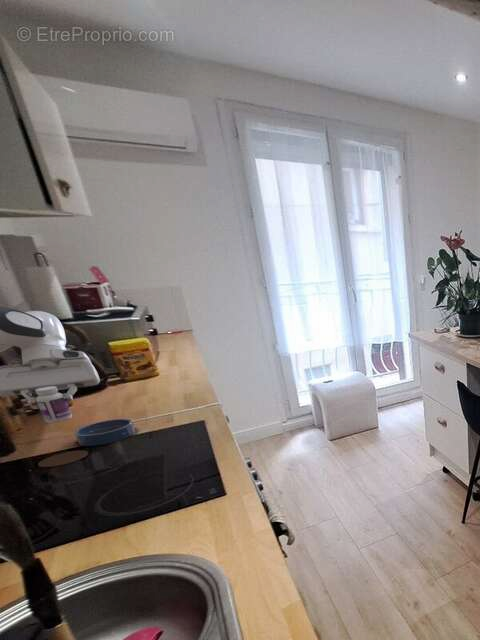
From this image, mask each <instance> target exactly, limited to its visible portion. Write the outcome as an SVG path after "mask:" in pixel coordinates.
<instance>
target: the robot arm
mask: <svg viewBox="0 0 480 640" xmlns="http://www.w3.org/2000/svg"><path fill="white" fill-rule="evenodd" d="M66 337H67V336H66V332H65V329H64V326H63V324H62V322H61V321H60V320H59V318H58V317H57V316H55V315H54V314H53V313H49V312H46V311H41V310H29V311H21V310H19V309H15V308H11V307H8V306H7V307H6V306H0V355H1V354H3V353H4V352H5V351H7V350H9V349H10V348H12V347H18V348H19V349H20V350H21V360H22V361H21V362H22V363H18V364H17V363H16V364H9V365H0V397H1V398H6V397H14V396H21V395H22V397H24V398H25V399H26V400H27V405H28V406H30V407H35V406H38V404H37V402H36V398H37V397H32V396H33V394H36V391H35V390H36V389H39V388H43V387H49V386H56V387H57V389H58V391H61V390H67V392H65V393H62V394H63V399H64V400H65V401H66V402H70V401H73V400H74V398H73V396H74V395H75V394H76V392H77V391H78V388H84V387H93V386H97V385H99V384H100V382H101V379H100V376H99V373H98V371H97V370H96V368H95V366H94V365H93V363H92V361H91V359H90V357H89V356H88V355H87V354H86V353H85V352H84V351H82V350H70V349H67V348H66V345H67V338H66Z"/></svg>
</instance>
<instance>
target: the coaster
mask: <svg viewBox="0 0 480 640" xmlns="http://www.w3.org/2000/svg"><path fill="white" fill-rule="evenodd" d="M88 455H89V451H88V450H84V449H83V450H81V449H79V450H71V451H70V450H69V451H65V452H61V453H58V454H54V455H51V456H49V457H48V456H47V457H46V458H44V459H42V460H41V461H39V462H38V464H37V466H38V467H39V468H52V467H59V466H65V465H68V464H71V463H74V462H77V461H80V460H82V459H84V458H86V457H87V456H88Z"/></svg>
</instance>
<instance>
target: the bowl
mask: <svg viewBox="0 0 480 640" xmlns="http://www.w3.org/2000/svg"><path fill="white" fill-rule="evenodd" d="M136 431H137V430H136V427H135V425H134V423H133V420H131V419H129V418H115V419H107V420H103V421H98V422H94V423H90V424H87V425H85V426H81V427H79V428H78V429H76V430H75V431H74V436H75V438H76V441H77V443H78V445H80V446H82V447H95V446H101V445H103V446H104V445H107V444H112V443H115V442H119V441H122V440H124V439H127V438H130V437H131V436H133V435H135V433H136Z"/></svg>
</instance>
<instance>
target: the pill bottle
mask: <svg viewBox="0 0 480 640" xmlns="http://www.w3.org/2000/svg"><path fill="white" fill-rule="evenodd" d="M35 391H36V393H35V394H36V395H37V396H36V397H35V398H36V402H37V404H38V405H37V406H38V408H39V410H40V413H41V415H42V418H43V419H44V421H45V423H50V424H52V423H61V422H65V421H67V420H70V419H71V418H72V417H73V414H72V412H71V409H70V407H69V405H68V401H65V400H64V399H63V394H64V393H61V392H59V390H58V389H57V387H56V386H49V387H43V388H39V389H36V390H35Z"/></svg>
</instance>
